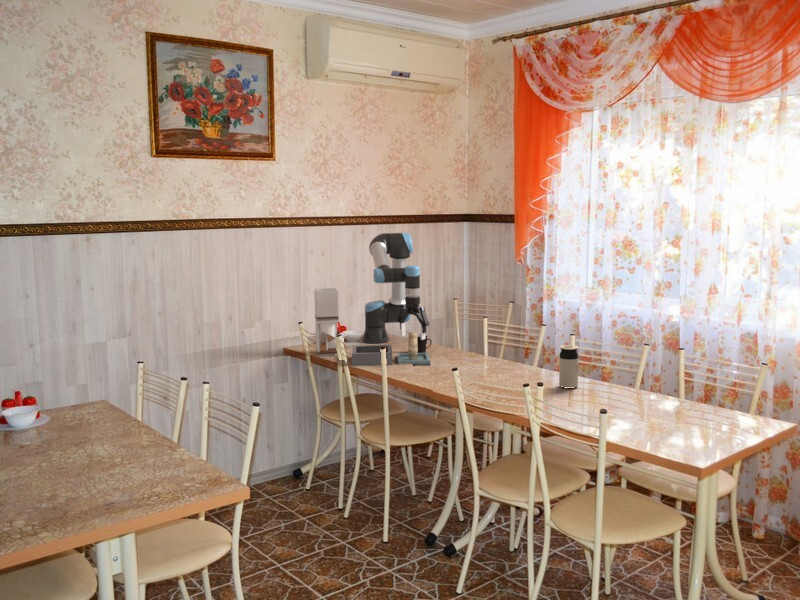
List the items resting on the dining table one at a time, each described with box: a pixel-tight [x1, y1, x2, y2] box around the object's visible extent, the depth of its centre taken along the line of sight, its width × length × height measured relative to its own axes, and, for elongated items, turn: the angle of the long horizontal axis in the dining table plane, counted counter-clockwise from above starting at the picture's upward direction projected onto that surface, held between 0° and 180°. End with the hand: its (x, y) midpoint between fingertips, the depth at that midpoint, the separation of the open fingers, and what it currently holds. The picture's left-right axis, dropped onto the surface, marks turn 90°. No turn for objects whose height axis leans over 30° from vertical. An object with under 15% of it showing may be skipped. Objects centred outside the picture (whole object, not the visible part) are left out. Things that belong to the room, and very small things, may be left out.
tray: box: [396, 352, 431, 367], centre depth 385 cm, size 18×16×2 cm
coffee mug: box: [417, 333, 432, 353], centre depth 402 cm, size 12×9×10 cm
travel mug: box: [558, 344, 579, 388], centre depth 330 cm, size 8×8×18 cm
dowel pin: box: [408, 331, 418, 360], centre depth 384 cm, size 4×4×14 cm
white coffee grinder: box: [313, 287, 339, 357], centre depth 405 cm, size 11×11×35 cm
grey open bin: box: [351, 344, 393, 367], centre depth 384 cm, size 20×20×7 cm
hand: (413, 337), depth 383 cm, fingers open, 13 cm apart
